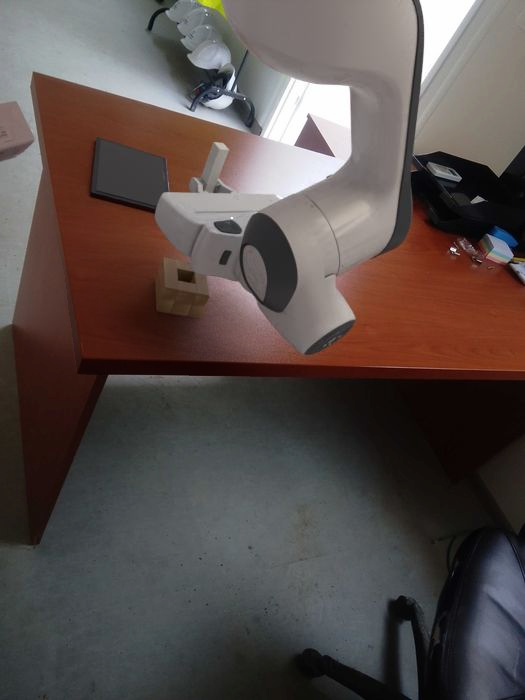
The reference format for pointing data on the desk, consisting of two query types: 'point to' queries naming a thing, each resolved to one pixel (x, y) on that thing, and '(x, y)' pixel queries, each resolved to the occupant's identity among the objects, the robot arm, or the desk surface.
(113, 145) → the plate
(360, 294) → the desk surface
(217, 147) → the white square bar
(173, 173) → the desk surface
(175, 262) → the pen stand
